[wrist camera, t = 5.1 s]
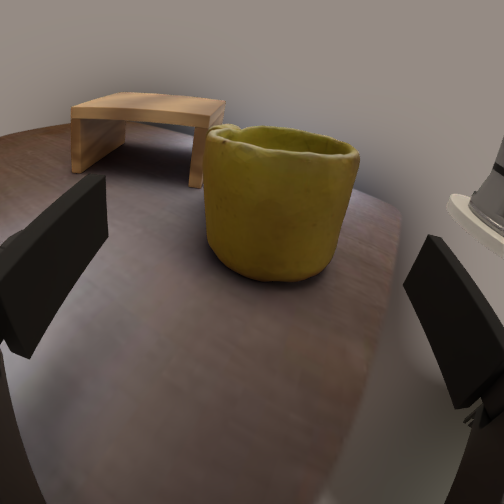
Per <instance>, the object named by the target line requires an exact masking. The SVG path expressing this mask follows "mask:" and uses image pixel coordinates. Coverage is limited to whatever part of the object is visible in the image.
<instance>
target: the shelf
mask: <svg viewBox="0 0 504 504" xmlns="http://www.w3.org/2000/svg"><path fill="white" fill-rule="evenodd" d="M225 104H226V101H222V100H214V99H206V98H198V97H188V96H178V95H165V94H151V93H130V92H119V93H116V94H112V95H108V96H105V97H102V98H98V99H94V100H92V101H88V102H85V103H82V104H79V105H76V106H73V107H71V118H72V119H71V162H72V173H82V172H83V171H85V170H86V169H87V168H89V167H90V166H92V165H93V164H94V163H96V162H97V161H99V160H100V159H101V158H103V157H104V156H106V155H107V154H109V153H110V152H111V151H113V150H114V149H116V148H117V147H119V146H120V145H122V144H123V143H125V127H126V120H128V121H142V122H143V121H144V122H154V123H165V124H175V125H184V126H192V127H195V132H194V139H193V148H192V156H191V165H190V175H189V185H188V186H189V187H194V188H201V186H202V184H203V168H202V162H203V154H204V149H205V141H206V133H207V131H208V130H209V128H211V127H213V126H217V125H222V121H223V116H224V110H225Z"/></svg>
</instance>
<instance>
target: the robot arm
mask: <svg viewBox="0 0 504 504" xmlns="http://www.w3.org/2000/svg"><path fill="white" fill-rule="evenodd" d="M468 207H469V209H470V210H471V211H472V213H473V214H474V215H475V216H477V217H478V218H479V219H480V220H481V221H482V222H483V223H485V224H486V225H487V226H489V227H490V228H491V229H493V230H494V231H495V232H497V233H498V234H500V235H501V236H503V237H504V137H503V140H502V143H501V147H500V149H499V152H498V155H497V158H496V161H495V164H494V166H493V169H492V171H491V173H490V175H489V176H488V178H487V179H486V180H485V182H484V183H483V184H482V186H481V187H480V188H479V190H478V191H477V192H476V191H474V193H473V195H472V198H471V199H470V201H469V204H468ZM108 237H109V236H108V222H107V204H106V175H97V174H88V175H87V176H85V177H84V178H83V179H81V180H80V181H79V182H78V183H76V184H75V185H74V186H73V187H72V188H70V189H69V190H68V191H67V192H65V193H64V194H63V195H62V196H61V197H59V198H58V199H57V200H56V201H55V202H54V203H52V204H51V205H50V206H49V207H48V208H47V209H46V210H45V211H43V212H42V213H41V214H40V215H39V216H38V217H37V218H36V219H35V220H34V221H32V222H31V223H30V224H29V225H28V226H27V227H26V228H25V229H24V230H21V231H19V232H17V233H15V234H14V235H12V236H10V237H9V238H8V239H7V240H6V241H5V242H4V243H3V244H2V245H1V246H0V344H1V343H2V341H3V339H4V340H5V342H6V344H7V346H8V347H9V349H10V351H11V352H13V353H15V354H17V355H20V356H22V357H25V358H27V359H29V360H30V358H31V356H32V354H33V352H34V351H35V349H36V347H37V345H38V343H39V342H40V340H41V338H42V336H43V335H44V333H45V331H46V330H47V328H48V326H49V325H50V323H51V321H52V320H53V318H54V316H55V315H56V313H57V311H58V310H59V308H60V307H61V305H62V303H63V302H64V300H65V299H66V297H67V296H68V294H69V292H70V291H71V289H72V288H73V286H74V285H75V283H76V282H77V280H78V279H79V277H80V276H81V274H82V273H83V272H84V270H85V269H86V267H87V266H88V264H89V263H90V261H91V260H92V259H93V257H94V256H95V254H96V253H97V252H98V250H99V249H100V248H101V246H102V245H103V243H104V242H105V241H106V239H107V238H108ZM403 287H404V289H405V290H406V293H407V295H408V297H409V299H410V301H411V303H412V305H413V307H414V309H415V312H416V314H417V316H418V318H419V320H420V323H421V325H422V327H423V329H424V332H425V334H426V336H427V338H428V341H429V343H430V345H431V348H432V350H433V353H434V355H435V358H436V360H437V362H438V365H439V367H440V370H441V372H442V375H443V378H444V380H445V383H446V386H447V389H448V391H449V394H450V397H451V399H452V402H453V405H454V408H455V409H462V408H468V407H470V406H471V405H472V404H473V403H474V402H475V401H477V400H478V399H479V398H480V397H481V399H482V402H483V403H482V404H481V405H480V406H479V407H478V408H477V409H476V410H474V411H473V412H472V413H471V414H470V415H469V416H467V417H466V418H465V420H464V422H463V423H466V422H468V421H469V420H470V419H471V418H472V419H474V420H473V421H472V422H471V423H470V424H469V425H468V426H469V427H471V428H472V429H471V432H470V436H469V439H468V442H467V445H466V449H465V452H464V455H463V458H462V460H461V463H460V466H459V469H458V472H457V474H456V477H455V479H454V482H453V484H452V487H451V489H450V492H449V494H448V496H447V498H446V501H445V503H444V504H504V327H503V325H502V324H501V322H500V320H499V319H498V317H497V315H496V314H495V312H494V311H493V309H492V307H491V306H490V304H489V303H488V301H487V300H486V298H485V297H484V295H483V294H482V292H481V291H480V289H479V288H478V286H477V285H476V283H475V282H474V281H473V279H472V278H471V276H470V275H469V274H468V272H467V271H466V269H465V268H464V267H463V265H462V264H461V263H460V261H459V260H458V259H457V257H456V256H455V255H454V253H453V252H452V251H451V249H450V248H449V247H448V246H447V244H446V243H445V242H444V241H443V239H442V238H441V237H437V236H433V235H428V236H427V238H426V240H425V242H424V244H423V246H422V248H421V250H420V252H419V254H418V256H417V258H416V260H415V262H414V264H413V266H412V268H411V270H410V272H409V274H408V276H407V278H406V280H405V282H404V283H403ZM0 504H46V502H45V500H44V498H43V495H42V493H41V491H40V488H39V486H38V484H37V481H36V479H35V476H34V474H33V471H32V468H31V466H30V463H29V460H28V457H27V454H26V451H25V448H24V445H23V442H22V439H21V436H20V432H19V429H18V425H17V422H16V418H15V414H14V410H13V406H12V402H11V398H10V393H9V388H8V383H7V378H6V373H5V367H4V361H3V354H2V352H1V349H0Z"/></svg>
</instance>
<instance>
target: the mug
mask: <svg viewBox="0 0 504 504" xmlns="http://www.w3.org/2000/svg"><path fill="white" fill-rule="evenodd" d="M359 163H360V156H359V153H358V151H357V150H356V149H355V148H354V147H352V146H351V145H350V144H348V143H345V142H341V141H338V140H336V139H334V138H332V137H329V136H324V135H319V134H315V133H309V132H306V131H302V130H297V129H292V128H284V127H272V126H253V127H247V128H245V129H243V130H241V129H240V128H239V127H237V126H234V125H232V124H223V125H217V126H213V127H211V128H209V130H208V131H207V133H206V141H205V149H204V154H203V162H202V168H203V184H204V202H205V216H206V230H207V240H208V243H209V245H210V247H211V248H212V249H213V251H214V252H215V254H216V255H217V257H218V258H219V260H220V261H222V262H223V263H224V264H225V265H226V266H227V267H228V268H230V269H231V270H233V271H235V272H237V273H239V274H241V275H243V276H245V277H248V278H251V279H255V280H258V281H262V282H266V281H283V282H298V281H302V280H305V279H307V278H309V277H312V276H315V275H317V274H318V273H320V272H321V271H322V270H323V269H324V268H325V267H326V266H327V265H328V264H329V262H330V261H331V259H332V257H333V255H334V252H335V249H336V246H337V242H338V238H339V233H340V229H341V226H342V222H343V219H344V216H345V213H346V210H347V207H348V204H349V200H350V196H351V193H352V189H353V185H354V182H355V178H356V175H357V171H358V168H359Z"/></svg>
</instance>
